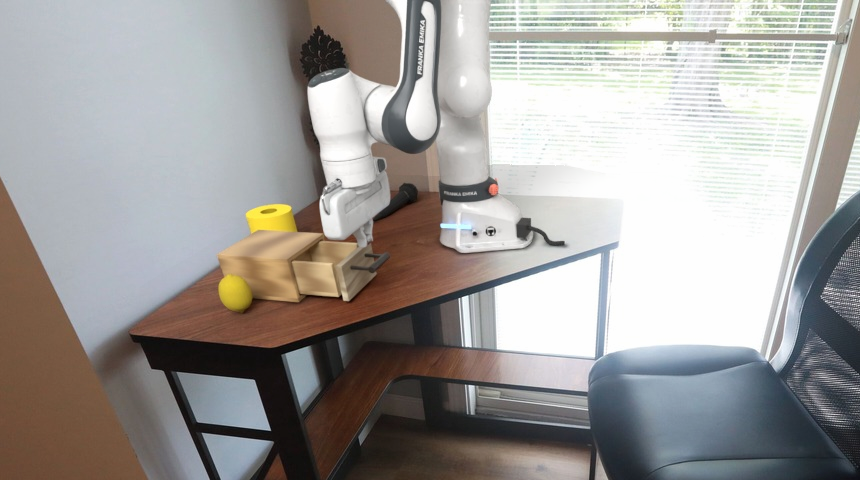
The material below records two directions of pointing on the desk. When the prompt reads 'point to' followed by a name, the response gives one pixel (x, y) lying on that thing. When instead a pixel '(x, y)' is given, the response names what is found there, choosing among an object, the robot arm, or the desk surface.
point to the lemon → (235, 293)
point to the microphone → (399, 199)
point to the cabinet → (268, 262)
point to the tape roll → (271, 218)
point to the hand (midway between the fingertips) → (366, 244)
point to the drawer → (336, 268)
